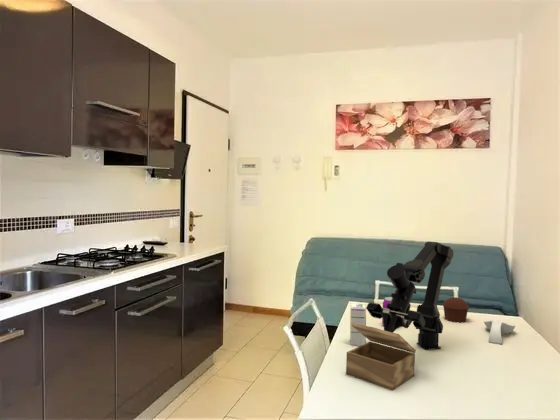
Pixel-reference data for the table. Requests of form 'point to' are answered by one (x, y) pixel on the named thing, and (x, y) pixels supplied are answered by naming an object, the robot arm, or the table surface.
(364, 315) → the syrup box
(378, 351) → the brown wooden box base
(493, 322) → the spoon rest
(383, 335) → the lid
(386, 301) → the beverage can
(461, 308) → the muffin
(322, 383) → the table surface
